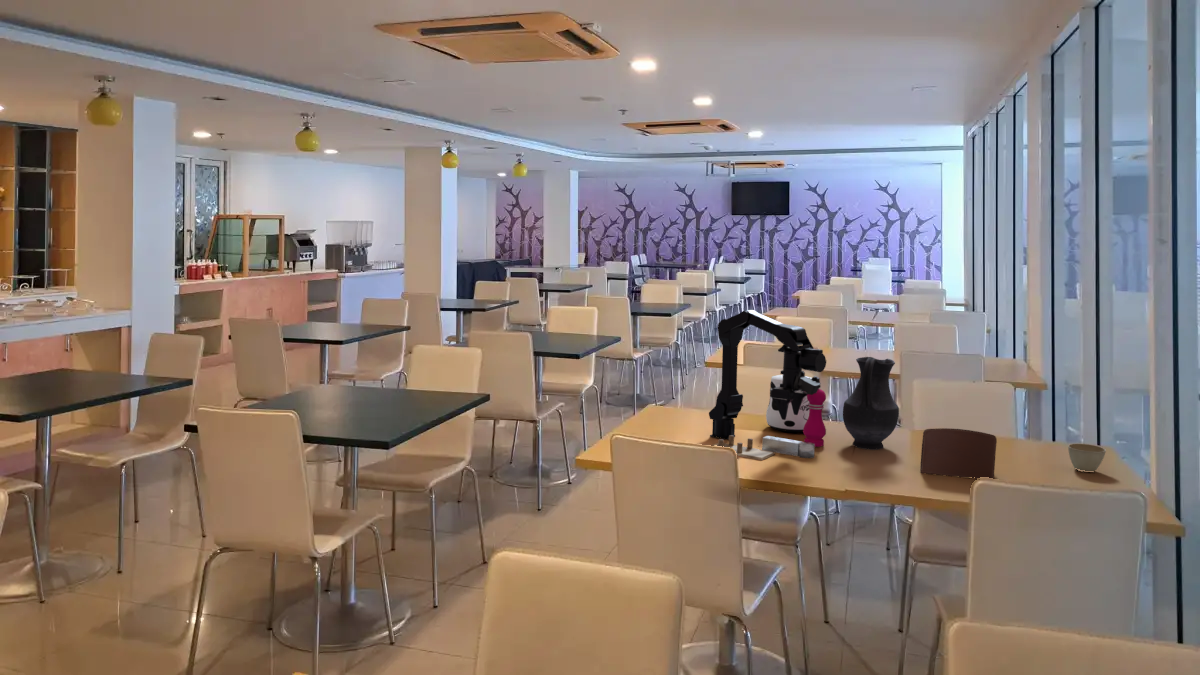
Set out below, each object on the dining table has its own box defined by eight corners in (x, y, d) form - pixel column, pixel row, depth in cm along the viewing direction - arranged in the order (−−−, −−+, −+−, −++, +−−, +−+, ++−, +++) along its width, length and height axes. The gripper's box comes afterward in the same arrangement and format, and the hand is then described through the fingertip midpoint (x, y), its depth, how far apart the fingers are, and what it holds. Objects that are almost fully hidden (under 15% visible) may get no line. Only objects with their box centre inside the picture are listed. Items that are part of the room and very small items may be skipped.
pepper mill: (825, 448, 299) (829, 386, 296) (802, 446, 300) (805, 385, 298) (824, 442, 306) (828, 382, 303) (802, 441, 307) (805, 381, 305)
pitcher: (899, 444, 307) (905, 353, 303) (890, 458, 288) (896, 362, 284) (846, 437, 314) (851, 349, 310) (833, 450, 295) (839, 357, 292)
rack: (706, 450, 292) (706, 438, 292) (719, 444, 300) (720, 433, 299) (761, 460, 282) (762, 447, 281) (774, 454, 289) (775, 442, 288)
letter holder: (993, 481, 265) (997, 433, 263) (920, 473, 271) (923, 426, 270) (991, 472, 274) (995, 426, 273) (920, 465, 281) (923, 419, 279)
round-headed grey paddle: (761, 450, 294) (761, 438, 293) (767, 447, 298) (768, 435, 297) (810, 459, 284) (811, 446, 284) (816, 456, 288) (817, 443, 288)
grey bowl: (1059, 466, 283) (1061, 443, 282) (1090, 466, 284) (1092, 443, 283) (1078, 475, 273) (1080, 451, 272) (1111, 475, 274) (1113, 451, 273)
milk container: (821, 435, 316) (824, 383, 314) (770, 434, 316) (772, 382, 314) (810, 424, 333) (813, 374, 331) (761, 423, 333) (764, 373, 331)
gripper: (805, 374, 276) (802, 426, 278) (828, 367, 291) (825, 416, 293) (770, 370, 282) (768, 420, 284) (795, 363, 297) (792, 411, 299)
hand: (789, 417), depth 290 cm, fingers open, 9 cm apart
